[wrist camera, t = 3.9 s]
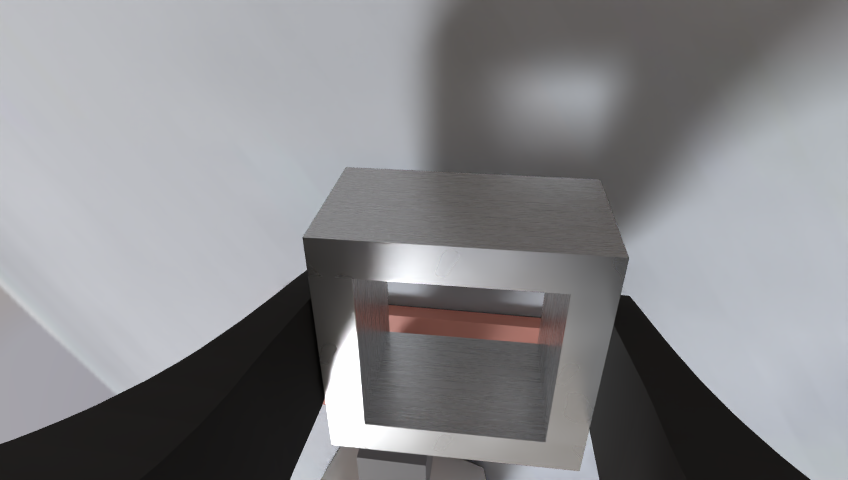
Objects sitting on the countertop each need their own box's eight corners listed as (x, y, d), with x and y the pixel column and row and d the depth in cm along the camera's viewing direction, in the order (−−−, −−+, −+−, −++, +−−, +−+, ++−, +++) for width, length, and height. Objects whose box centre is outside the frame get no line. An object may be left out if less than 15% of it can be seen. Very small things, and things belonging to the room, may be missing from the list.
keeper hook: (588, 322, 16) (613, 452, 12) (568, 419, 19) (584, 556, 15) (281, 295, 18) (214, 407, 14) (298, 390, 20) (245, 510, 16)
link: (600, 179, 11) (628, 258, 9) (565, 369, 14) (579, 471, 11) (346, 167, 12) (302, 237, 9) (361, 352, 15) (332, 445, 12)
